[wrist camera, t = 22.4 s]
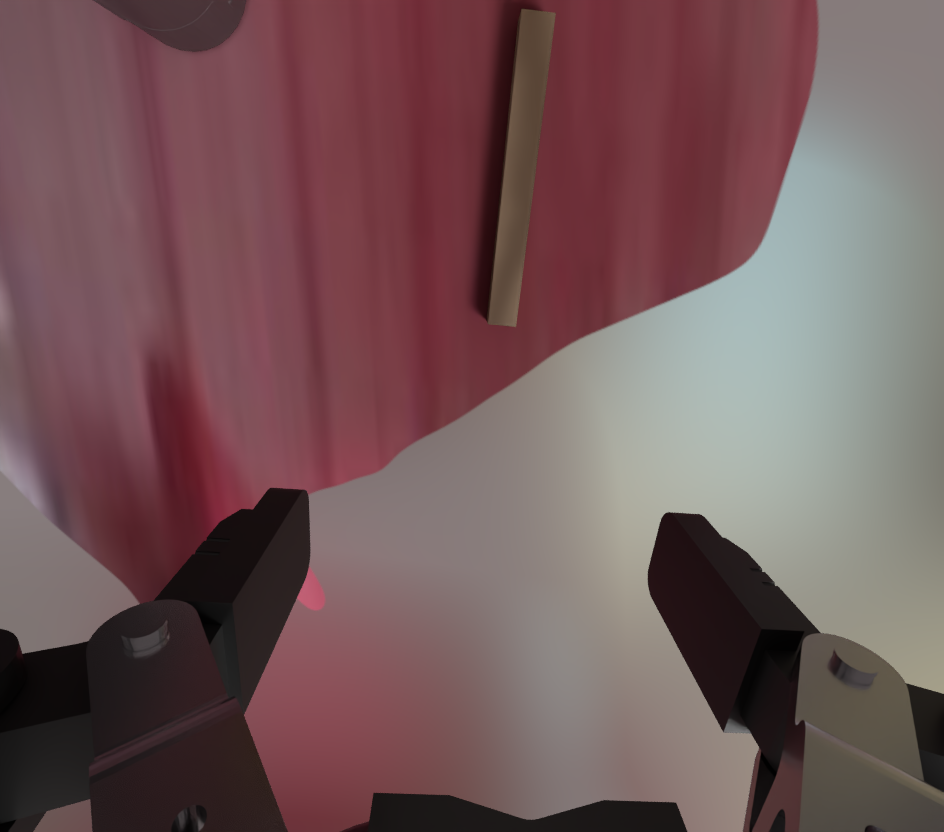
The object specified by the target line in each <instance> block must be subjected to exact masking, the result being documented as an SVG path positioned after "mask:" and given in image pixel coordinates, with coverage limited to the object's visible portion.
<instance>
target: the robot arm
mask: <svg viewBox="0 0 944 832" xmlns="http://www.w3.org/2000/svg"><path fill="white" fill-rule="evenodd" d="M94 1H95V2H97V3H98V4H100V5H101V6H103V7H104V8H106V9H108V10H109V11H111V12H112V13H114V14H115V15H117V16H118V17H120V18H121V19H123V20H128V21H130V22H131V23H133V24H134V25H136V26H137V27H139V28H141V29H142V30H144V31H145V32H147V33H148V34H150V35H151V36H153V37H154V38H156V39H158V40H159V41H161V42H163V43H164V44H166V45H168V46H171V47H173V48H176V49H179V50H184V51H192V52H196V51H203V50H208V49H211V48H213V47H215V46H218V45H220V44H221V43H222V42H223V41H225V40H226V39H227V38H229V37H230V35H231V34H232V33H233V31H234V30H235V29H236V28H237V26H238V24H239V22H240V20H241V17H242V15H243V13H244V8H245V4H246V0H94ZM309 562H310V523H309V498H308V493H307V491H306V490H299V489H283V488H270V489H268V490H267V492H266V493H265V494H264V496H263V497H262V498H261V500H260V501H259V502H258V504H257V505H256V506H255V508H254V509H253V510H251V509H241V510H239V511H237V512H236V513H234V514H232V515H231V516H229V517H227V518H226V519H224V520H222V521H221V522H220V523H219V524H218V525H217V526H216V527H215V529H214V530H213V531H212V532H211V533H210V534H209V536H208V537H207V540H206V541H204V542H203V543H202V544H201V545H200V546H199V547H198V549H197V550H196V553H195V554H193V555H192V556H191V557H190V558H189V559H188V561H187V562H186V563H185V564H184V565H183V566H182V568H181V569H180V570H179V571H178V572H177V574H176V575H175V576H174V577H173V578H172V579H171V581H170V582H169V583H168V584H167V585H166V587H165V588H164V589H163V590H162V591H161V593H160V594H159V595H158V596H157V597H156V598H155V600H154V601H150V602H146V603H142V604H139V605H137V606H134V607H131V608H129V609H127V610H124V611H122V612H120V613H119V614H117V615H115V616H113V617H112V618H110V619H109V620H108V621H106V622H105V623H104V624H103V625H102V626H100V627H99V628H98V629H97V631H96V632H95V633H94V634H93V635H92V637H91V639H90V640H89V641H87V642H83V643H79V644H75V645H69V646H63V647H59V648H53V649H47V650H41V651H36V652H31V653H25V654H22V651H21V648H20V645H19V641H18V639H17V637H16V636H15V635H14V634H13V633H11V632H9V631H7V630H3V629H0V832H33V831H34V830H35V828H36V826H37V825H38V823H39V822H40V820H41V819H42V817H43V816H44V814H45V813H46V811H48V810H52V809H55V808H60V807H63V806H66V805H70V804H74V803H77V802H81V801H84V800H88V799H90V800H91V816H92V831H93V832H288V831H287V828H286V826H285V823H284V821H283V818H282V815H281V812H280V810H279V807H278V805H277V802H276V799H275V797H274V794H273V791H272V789H271V786H270V784H269V781H268V778H267V775H266V773H265V770H264V768H263V765H262V762H261V759H260V757H259V755H258V752H257V749H256V746H255V744H254V741H253V738H252V736H251V733H250V730H249V728H248V725H247V723H246V720H245V717H244V714H245V711H246V709H247V707H248V705H249V702H250V700H251V698H252V696H253V694H254V691H255V689H256V687H257V685H258V683H259V680H260V678H261V676H262V674H263V672H264V669H265V667H266V665H267V663H268V661H269V658H270V656H271V654H272V652H273V650H274V647H275V645H276V642H277V640H278V638H279V636H280V634H281V632H282V630H283V627H284V625H285V623H286V621H287V619H288V616H289V614H290V612H291V610H292V607H293V605H294V603H295V601H296V599H297V596H298V594H299V592H300V590H301V588H302V585H303V583H304V581H305V578H306V575H307V572H308V568H309ZM648 587H649V591H650V595H651V597H652V599H653V601H654V603H655V605H656V607H657V609H658V611H659V613H660V614H661V616H662V618H663V620H664V622H665V624H666V626H667V628H668V629H669V631H670V633H671V635H672V636H673V639H674V641H675V642H676V644H677V646H678V648H679V650H680V652H681V654H682V656H683V657H684V659H685V661H686V663H687V665H688V667H689V669H690V671H691V672H692V674H693V676H694V678H695V680H696V682H697V684H698V686H699V687H700V689H701V691H702V693H703V695H704V697H705V699H706V700H707V702H708V704H709V706H710V708H711V710H712V712H713V714H714V715H715V717H716V719H717V721H718V723H719V725H720V727H721V729H722V730H723V732H725V733H751V734H752V736H753V737H754V739H755V741H756V743H757V744H758V746H759V750H758V752H757V754H756V757H755V761H754V767H753V773H752V779H751V785H750V792H749V798H748V803H747V809H746V815H745V821H744V827H743V832H944V694H942V693H938V692H935V691H931V690H928V689H924V688H921V687H917V686H914V685H910V684H906V683H905V681H904V680H903V678H902V677H901V676H900V674H899V673H898V672H897V671H896V670H895V669H894V668H893V667H892V666H891V665H890V664H889V663H887V662H886V661H885V660H884V659H882V658H881V657H880V656H878V655H877V654H875V653H874V652H872V651H871V650H869V649H867V648H865V647H864V646H862V645H860V644H858V643H855V642H853V641H851V640H848V639H845V638H843V637H839V636H836V635H831V634H824V633H820V632H819V631H818V629H817V628H816V627H815V626H814V625H813V624H812V623H811V622H810V621H809V620H808V619H807V618H806V616H805V615H804V614H803V613H802V612H801V611H800V610H799V609H798V608H797V607H796V605H795V604H794V603H793V602H792V601H791V600H790V599H789V598H788V597H787V596H786V595H785V594H784V592H783V591H782V590H781V589H780V588H779V587H778V586H775V584H774V581H773V580H772V579H771V578H770V577H769V576H768V575H767V574H766V573H765V572H762V568H761V567H760V566H759V565H758V564H757V563H756V562H755V561H754V560H753V558H751V556H750V555H749V554H748V553H747V552H746V551H744V550H743V549H741V548H740V547H738V546H737V545H735V544H734V543H732V542H731V541H729V540H728V539H726V538H722V537H721V535H719V533H718V532H717V531H716V530H715V529H714V528H713V526H712V525H711V524H710V523H709V522H708V521H707V519H706V518H705V517H703V516H702V515H700V514H686V513H670V512H669V513H665V514H664V516H663V517H662V519H661V522H660V526H659V529H658V533H657V537H656V541H655V545H654V549H653V553H652V557H651V561H650V565H649V569H648ZM341 832H687V830H686V827H685V824H684V822H683V819H682V817H681V814H680V811H679V809H678V806H677V804H676V803H672V802H641V801H609V800H604V801H600V802H596V803H592V804H590V805H586V806H582V807H579V808H575V809H571V810H568V811H565V812H561V813H558V814H554V815H550V816H547V817H544V818H540V819H536V820H526V819H522V818H518V817H515V816H512V815H509V814H506V813H503V812H500V811H497V810H494V809H491V808H487V807H484V806H481V805H478V804H475V803H472V802H469V801H466V800H463V799H459V798H456V797H453V796H450V795H423V794H393V793H391V794H390V793H374V794H373V801H372V807H371V814H370V820H369V822H366V823H362V824H359V825H356V826H353V827H350V828H348V829H345V830H343V831H341Z"/></svg>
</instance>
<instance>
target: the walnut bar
mask: <svg viewBox="0 0 944 832" xmlns="http://www.w3.org/2000/svg"><path fill="white" fill-rule="evenodd" d="M555 14H556V13H551V12H543V11H536V10H528V9H521V13H520V16H519V20H518V27H517V37H516V46H515V56H514V65H513V75H512V84H511V94H510V103H509V113H508V122H507V131H506V141H505V150H504V160H503V169H502V179H501V188H500V198H499V207H498V217H497V226H496V236H495V245H494V255H493V264H492V274H491V283H490V293H489V302H488V311H487V323H488V324H492V325H503V326H514V327H516V322H517V314H518V306H519V298H520V290H521V282H522V275H523V267H524V259H525V251H526V243H527V235H528V227H529V219H530V211H531V203H532V196H533V188H534V180H535V172H536V164H537V156H538V148H539V140H540V132H541V124H542V117H543V109H544V101H545V93H546V85H547V77H548V69H549V61H550V53H551V45H552V38H553V30H554V22H555Z"/></svg>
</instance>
